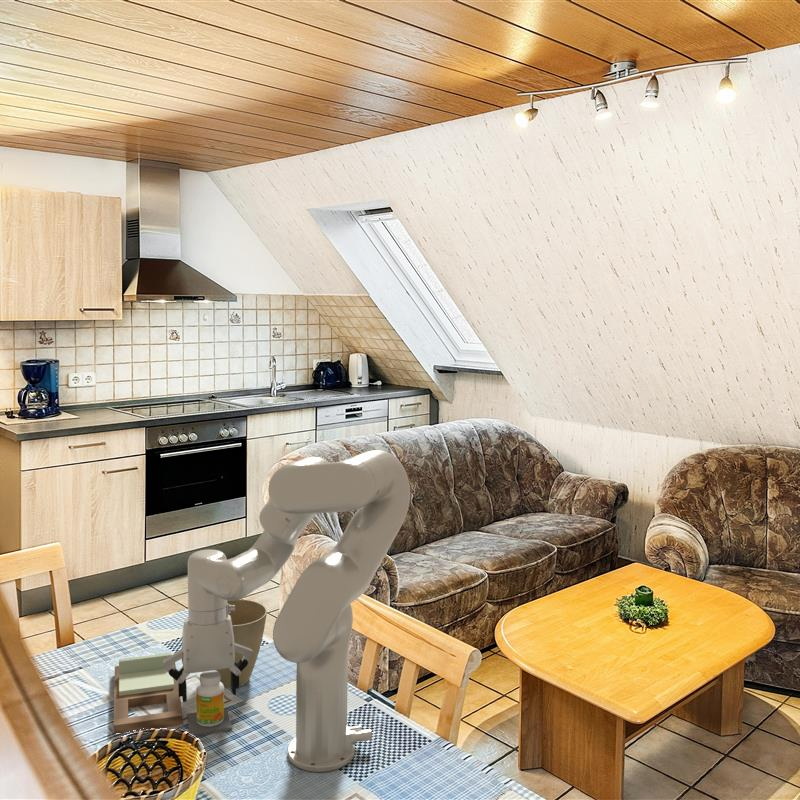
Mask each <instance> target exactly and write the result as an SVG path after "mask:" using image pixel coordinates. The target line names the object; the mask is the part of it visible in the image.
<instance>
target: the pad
mask: <svg viewBox="0 0 800 800" xmlns="http://www.w3.org/2000/svg"><path fill="white" fill-rule="evenodd" d="M186 718H187V725H188V732H191V733H193V734H194V735H196V736H195V737H199V736H205V735H210V734H218V733H224V732H230V731H231V732H232V731H233V728H232V727H233V726H232V723H231V719H230V715H229V710H228V708H227V707H224V720H223V721H222V722H221V723H220V724H218V725H216V726H212V727H204V726H201V725H199V724H198V723H197V711H196V712H189V713H186Z"/></svg>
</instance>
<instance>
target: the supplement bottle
mask: <svg viewBox="0 0 800 800" xmlns="http://www.w3.org/2000/svg"><path fill="white" fill-rule="evenodd" d="M220 679H221V678H220V672H218V671H215V670H212V671H205V672H200V675H199V684H198V685H197V687H196V691H195V692H196V695H195V696H196V699H195V700H196V712H197V723H198V724H199V725H201V726H204V727H212V726H216V725H218V724H220V723H221V722H222V721H223V720H224V708H225V687H224V685H223V684H222V683H221V682H220Z"/></svg>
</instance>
